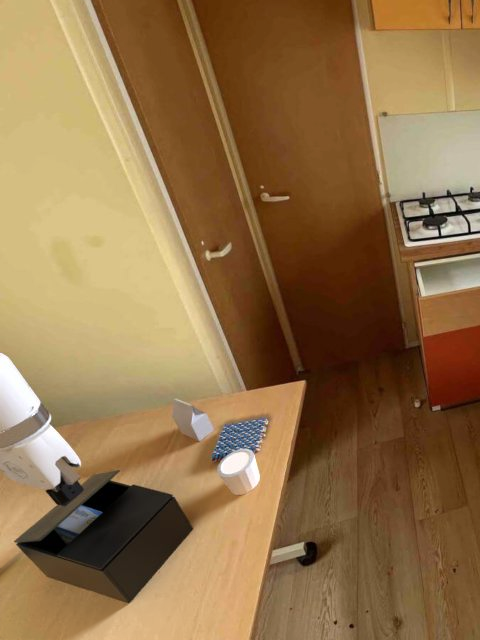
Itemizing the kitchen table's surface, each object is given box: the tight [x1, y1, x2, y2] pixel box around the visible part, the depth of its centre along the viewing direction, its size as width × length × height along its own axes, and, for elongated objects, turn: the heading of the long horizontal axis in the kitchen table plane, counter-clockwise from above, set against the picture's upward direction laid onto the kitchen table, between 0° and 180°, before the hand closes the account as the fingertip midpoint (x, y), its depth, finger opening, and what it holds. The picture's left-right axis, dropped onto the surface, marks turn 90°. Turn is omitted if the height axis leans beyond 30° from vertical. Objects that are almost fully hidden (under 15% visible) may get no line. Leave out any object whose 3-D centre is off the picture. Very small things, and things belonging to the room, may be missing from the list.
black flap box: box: [15, 479, 194, 604], centre depth 78 cm, size 19×13×11 cm
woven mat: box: [210, 416, 269, 463], centre depth 102 cm, size 10×11×2 cm
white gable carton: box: [171, 397, 215, 442], centre depth 102 cm, size 4×7×10 cm, turn 69°
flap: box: [13, 469, 121, 544], centre depth 75 cm, size 9×13×1 cm
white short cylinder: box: [216, 449, 261, 496], centre depth 91 cm, size 7×7×7 cm
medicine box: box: [54, 505, 102, 545], centre depth 79 cm, size 8×4×9 cm, turn 77°
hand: (71, 497), depth 74 cm, fingers closed
